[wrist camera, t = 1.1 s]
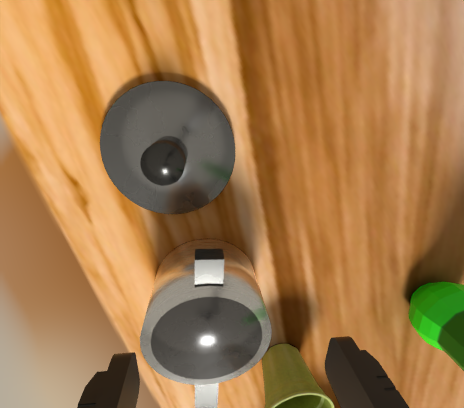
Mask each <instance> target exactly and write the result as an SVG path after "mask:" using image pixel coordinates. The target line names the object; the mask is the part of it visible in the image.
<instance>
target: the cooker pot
mask: <svg viewBox="0 0 464 408" xmlns="http://www.w3.org/2000/svg"><path fill="white" fill-rule="evenodd" d="M271 333H272V330H271V323H270V320H269V317H268V314H267V310H266V307H265V304H264V301H263V298H262V295H261V291H260V288H259V285H258V282H257V279H256V275H255V272H254V269H253V266H252V264H251V262H250V260H249V258H248V257H247V256H246V254H245V253H244V252H243V251H241V250H240V249H239V248H237V247H236V246H234V245H232V244H230V243H228V242H225V241H221V240H215V239H200V240H194V241H191V242H187V243H185V244H183V245H180V246H179V247H177V248H175V249H174V250H173V251H171V252H170V253H169V254H168V255H167V256H166V257H165V258H164V260H163V261H162V262H161V264H160V266H159V268H158V271H157V275H156V278H155V282H154V286H153V290H152V293H151V297H150V301H149V305H148V308H147V312H146V316H145V320H144V323H143V327H142V331H141V336H140V346H141V351H142V353H143V356H144V358H145V359H146V361H147V363H148V364H149V365H150V366H151V367H152V368H153V369H154V370H155V371H156V372H158V373H159V374H161V375H162V376H164V377H166V378H168V379H171V380H173V381H176V382H180V383H185V384H192V385H195V408H217V404H218V383H220V382H224V381H227V380H230V379H233V378H235V377H237V376H239V375H241V374H243V373H245V372H246V371H248V370H249V369H251V368H252V367H253V366H254V365H256V364H257V363H258V362H259V361H260V359H261V358H262V357H263V356H264V354H265V352H266V351H267V349H268V347H269V344H270V340H271Z"/></svg>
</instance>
